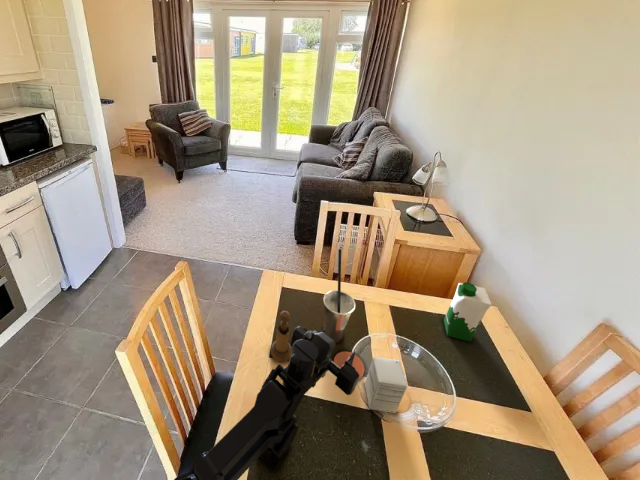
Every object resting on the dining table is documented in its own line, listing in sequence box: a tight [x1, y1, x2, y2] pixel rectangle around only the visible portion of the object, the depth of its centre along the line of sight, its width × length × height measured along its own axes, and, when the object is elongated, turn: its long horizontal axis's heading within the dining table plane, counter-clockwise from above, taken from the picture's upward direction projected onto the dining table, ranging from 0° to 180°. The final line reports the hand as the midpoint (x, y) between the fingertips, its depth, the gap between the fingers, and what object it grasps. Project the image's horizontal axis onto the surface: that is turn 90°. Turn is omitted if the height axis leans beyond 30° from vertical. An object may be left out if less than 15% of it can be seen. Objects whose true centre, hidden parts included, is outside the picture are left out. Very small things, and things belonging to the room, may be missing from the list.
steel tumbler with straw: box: [322, 248, 357, 343], centre depth 101 cm, size 11×11×30 cm
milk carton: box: [443, 281, 493, 343], centre depth 106 cm, size 9×9×20 cm
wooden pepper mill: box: [270, 310, 292, 364], centre depth 96 cm, size 7×6×18 cm
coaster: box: [333, 350, 365, 380], centre depth 97 cm, size 9×9×1 cm
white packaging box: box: [364, 356, 408, 414], centre depth 86 cm, size 7×7×13 cm
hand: (339, 342), depth 85 cm, fingers open, 9 cm apart
